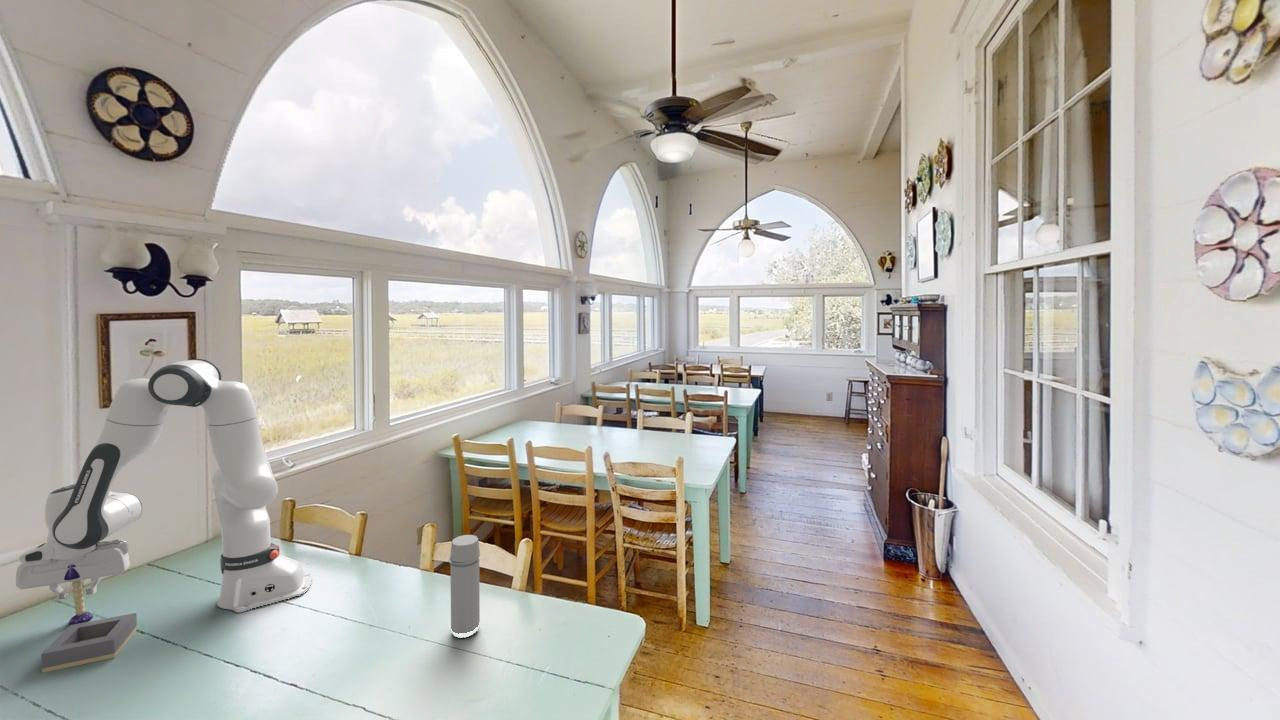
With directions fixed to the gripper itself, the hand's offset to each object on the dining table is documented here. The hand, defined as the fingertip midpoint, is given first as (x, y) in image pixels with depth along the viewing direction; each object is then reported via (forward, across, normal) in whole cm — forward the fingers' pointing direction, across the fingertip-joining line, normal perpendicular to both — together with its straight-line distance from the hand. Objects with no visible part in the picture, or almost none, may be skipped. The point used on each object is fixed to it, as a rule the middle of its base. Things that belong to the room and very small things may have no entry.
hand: (77, 595), depth 131 cm
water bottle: (+7, -91, +48) cm, 103 cm away
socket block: (+7, -9, +17) cm, 21 cm away
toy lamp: (+7, 0, 0) cm, 7 cm away
